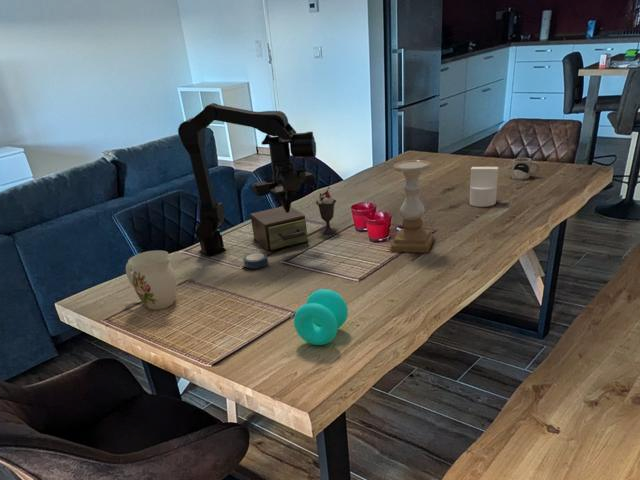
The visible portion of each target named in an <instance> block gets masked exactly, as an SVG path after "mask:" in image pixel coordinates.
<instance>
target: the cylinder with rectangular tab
mask: <svg viewBox="0 0 640 480" xmlns="http://www.w3.org/2000/svg"><path fill="white" fill-rule="evenodd" d="M498 178H499V166H472V167H471V168H470V180H469V181H470V185H469V202H468V203H469V205H470V206H472V207H476V208H477V207H478V208H479V207H480V208H485V207H491V206H494V205H495V204H497V192H498V191H497V189H498V180H499V179H498Z"/></svg>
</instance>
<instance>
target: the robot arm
mask: <svg viewBox="0 0 640 480" xmlns="http://www.w3.org/2000/svg"><path fill="white" fill-rule="evenodd" d="M214 121H217V122H222V123H228V124H233V125H238V126H243V127H249V128H253V129H256V130H257V131H259V132H261V133H263V134H266V135H265V136H264V139H262V141H261V142H260V143H261V145H268V147H269V155H270V163H269V164H270V167H271V172H272V176H271V177H272V178H271V179H272V182H267V181H265V180H260V181H255V182H252V184H251V187H250V189H251V193H252V194H254V195H255V196H257V197H263V196H267V195H269V194H270V193H272V194H273V195H275V196H276V197H277V199H278V201H279V202H280V204H281V207H282V206H283V208H284V210H285V212H286V213H288V212H289V211H290V207H292V202H293V201H292V200H293V198H294V195H295V193H296V192H299V190H300V188H301V184H304V185H306V186H307V187H310V186H313V185H316V184H317V178H316V175H315V174H314V173H311V172H309V171H305V169H304V168H302V169H296V170H295V168H294V163H293V162H292V158H291V155H292V157H294V158H295V159H308V158H316V156H317V142H316V140H315V136H314V132H313V131H306V132H297V131H296V129H295V128H293V126H292V125H291V124H290V123H289V119H288V117H287V115H286V113H284V112H283V111H281V110H265V111H254V110H249V109H243V108H238V107H233V106H227V105H221V104H218V103H215V102H212V103H209V104H208V105H206V106H205V107H204V109H202V110H201V111H200V112H198V113H197V114H196V115H195V116H194V117H191V118H189V119H187V120H184V121H183V122H181V123H180V124H179V126H178V128H177V134H178V137H179V139H180V141H181V144H182V146H183V147H184V149H185V150H186V152H187V153H188V156H189V158H190V159H189V160H190V163H191V169H192V172H193V176H194V181H195V185H196V189H197V194H198V198H199V202H200V204H199V225H198V227H197V228H196V229H195V230H194V234H195V236H196V237H197V239H198V241H199V242H198V243H199V246H200V249H199V250H198V251H199V253H200V254H203V255H205V256H207V257H211V256H214V255H217V254H220V253H222V252H226V250H227V249H226V248H225V245H224V240H223V235H222V234H221V231H220V230H219V229H220V228H221V225H222V223H223V222H224V220H225V216H226V215H227V214H226V212H225V211H224V202H218V200H217V199H216V196H215V192H214V186H213V182H212V179H211V174H210V169H209V165H208V160H207V157H206V152H205V151H206V150H205V149H206V148H205V147H206V145H205V144H206V129H207V127H208V126H210V125H211V124H212V123H213V122H214Z"/></svg>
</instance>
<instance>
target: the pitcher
mask: <svg viewBox="0 0 640 480" xmlns="http://www.w3.org/2000/svg"><path fill="white" fill-rule="evenodd" d="M172 259H173V256H171V255H169V252H168V251H166V250H160V249H159V250H156V249H155V250H148V251H144V252H143V251H142V252H140V253H137V254H135V255H133V256H131V257H130V258H129V259H128V260H127V263H126V264H125V273H126V277H127V279H128V281H129V283H130V285H131V286H132V287H133V288H134V291H135V293H136V295H137V297H138V298H139V300H140V301H141V302H142V303H143V304H144V306H146V307H148V309H150V310H162V309H165V308H168V307H170V306H172V304H173V303H174V301H175V299H176V296H177V290H178V289H177V287H178V285H177V284H178V283H177V276H176V274H175V271H174V268H173V266H172V265H171V263H170V262H171V261H172Z"/></svg>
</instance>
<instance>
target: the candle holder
mask: <svg viewBox="0 0 640 480" xmlns="http://www.w3.org/2000/svg"><path fill="white" fill-rule="evenodd" d="M430 168H431V162H430V161H428V160H422V159H409V160H403V161H400V162H397V163H394V165H393V169H394V170H395V172H400V173H402V175H403V177H404V178H405V184H404V185H403V187H402V189H403V191H404V192H405V194H406V196H405V199H404V201H403V202H402V203H401V206H400V208H399V215H400V216H401V217H402V218H403V220H402V222H401V225H402V228H401V229H400V230H399V231H398V232H397V234H396V235H395V237H394V240H393V241H392V243H391V246H390V248H391V249H390V250H391V252H397V253H426V254H427V253H428V252H429V250H430V248H431V247H432V244H433V243H434V234H433V233H431V230H430V229H424V228H423V227H422V226H423V225H424V221H423V219H422V218H423V216H424V215H425V213H426V207H425V206H424V204H423V202H422V201H421V199H420V197H419V192H420V191H421V189H422V185H421V184H420V181H419V178H420V176H421V174H422V173H423V171H427V170H429V169H430Z"/></svg>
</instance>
